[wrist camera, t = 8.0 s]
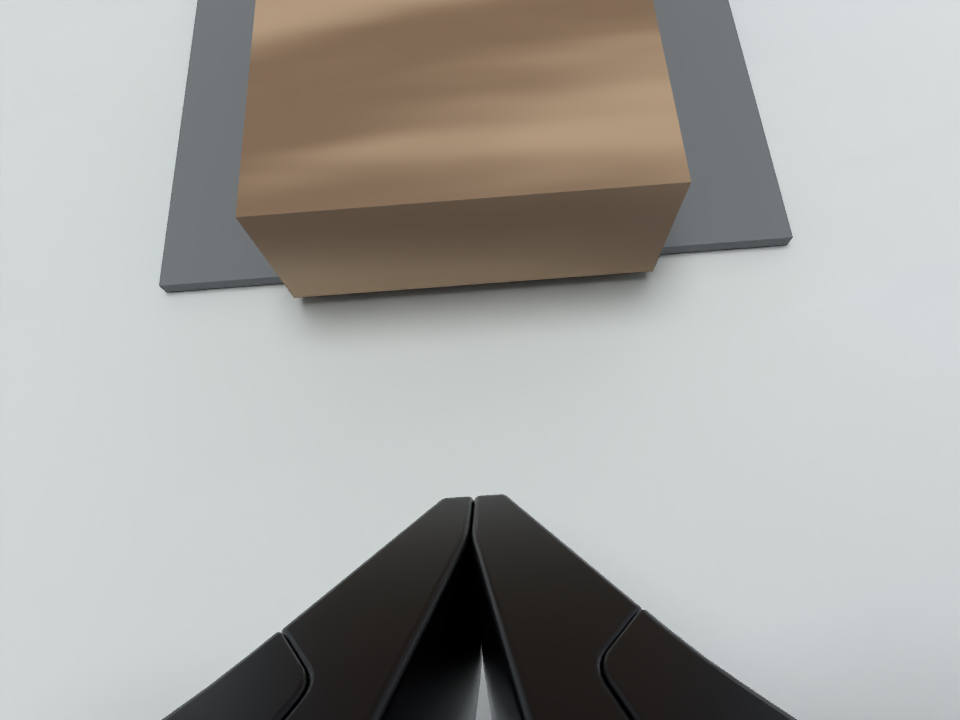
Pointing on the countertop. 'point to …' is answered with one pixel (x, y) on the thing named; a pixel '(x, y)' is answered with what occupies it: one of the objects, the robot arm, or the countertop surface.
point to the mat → (698, 100)
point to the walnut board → (457, 142)
